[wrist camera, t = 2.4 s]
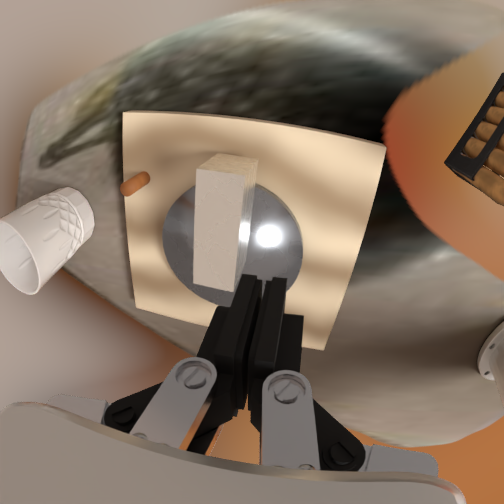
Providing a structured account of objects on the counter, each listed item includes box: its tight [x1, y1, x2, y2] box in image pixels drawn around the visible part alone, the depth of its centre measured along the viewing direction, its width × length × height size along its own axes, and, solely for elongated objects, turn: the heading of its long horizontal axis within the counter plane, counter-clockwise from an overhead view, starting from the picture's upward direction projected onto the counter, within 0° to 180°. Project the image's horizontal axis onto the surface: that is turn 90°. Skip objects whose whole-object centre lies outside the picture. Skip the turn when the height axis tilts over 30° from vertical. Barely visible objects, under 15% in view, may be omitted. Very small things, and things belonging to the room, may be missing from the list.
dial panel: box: [120, 110, 387, 350], centre depth 26 cm, size 21×21×4 cm
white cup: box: [0, 187, 95, 295], centre depth 27 cm, size 8×8×10 cm
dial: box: [162, 153, 303, 307], centre depth 24 cm, size 14×12×5 cm
